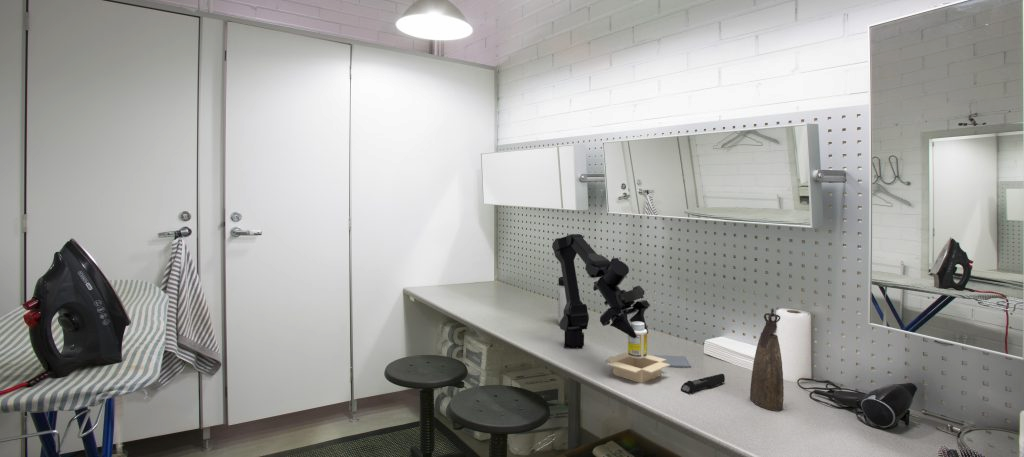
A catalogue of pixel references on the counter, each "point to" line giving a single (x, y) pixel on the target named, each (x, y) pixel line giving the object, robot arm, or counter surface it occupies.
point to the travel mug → (561, 299)
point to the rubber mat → (675, 361)
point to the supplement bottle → (638, 341)
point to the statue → (768, 368)
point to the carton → (637, 367)
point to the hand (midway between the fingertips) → (641, 335)
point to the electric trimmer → (702, 383)
